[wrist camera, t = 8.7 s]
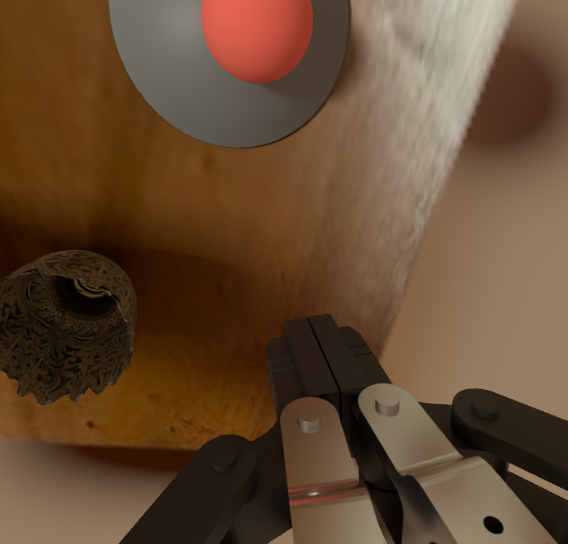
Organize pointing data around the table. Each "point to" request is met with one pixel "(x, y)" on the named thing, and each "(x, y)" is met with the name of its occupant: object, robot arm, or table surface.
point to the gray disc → (223, 72)
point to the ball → (257, 36)
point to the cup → (66, 325)
